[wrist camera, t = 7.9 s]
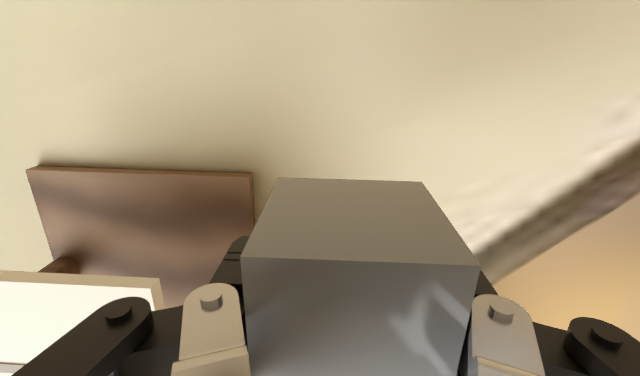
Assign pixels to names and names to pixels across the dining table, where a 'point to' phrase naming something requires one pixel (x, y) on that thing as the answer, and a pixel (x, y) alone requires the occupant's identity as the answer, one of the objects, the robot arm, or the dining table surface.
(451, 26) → the dining table surface
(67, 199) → the stand
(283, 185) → the gray cube
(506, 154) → the dining table surface
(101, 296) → the trapdoor
